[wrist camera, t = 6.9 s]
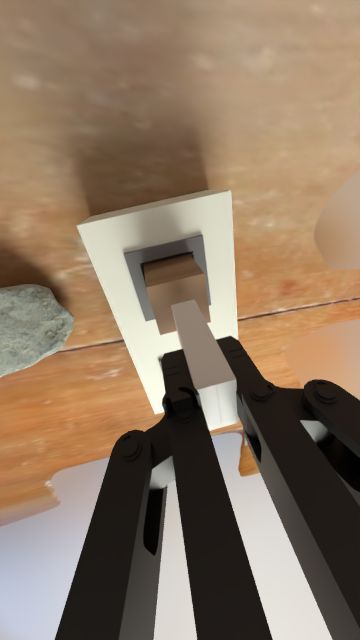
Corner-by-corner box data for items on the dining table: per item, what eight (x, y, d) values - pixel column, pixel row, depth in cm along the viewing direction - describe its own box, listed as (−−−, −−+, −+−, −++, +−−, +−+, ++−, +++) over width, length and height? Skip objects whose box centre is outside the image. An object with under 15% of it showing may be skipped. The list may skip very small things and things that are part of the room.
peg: (143, 261, 19) (146, 287, 14) (186, 250, 19) (204, 273, 14) (154, 300, 21) (160, 335, 16) (193, 290, 22) (210, 322, 17)
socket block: (90, 216, 21) (75, 226, 16) (208, 189, 22) (233, 190, 16) (152, 380, 34) (155, 416, 29) (225, 361, 35) (241, 393, 29)
